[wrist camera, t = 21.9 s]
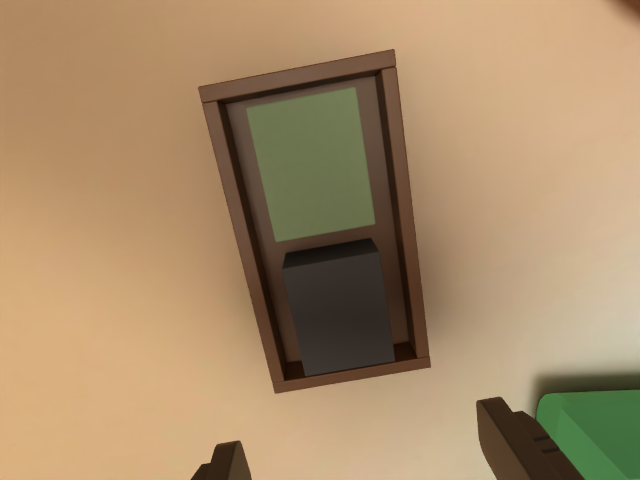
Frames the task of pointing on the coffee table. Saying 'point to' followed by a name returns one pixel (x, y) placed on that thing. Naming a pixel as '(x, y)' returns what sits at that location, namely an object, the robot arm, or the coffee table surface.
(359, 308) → the charcoal block
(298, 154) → the sage pad
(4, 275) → the coffee table surface
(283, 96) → the brown wooden tray
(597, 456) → the toy tank
